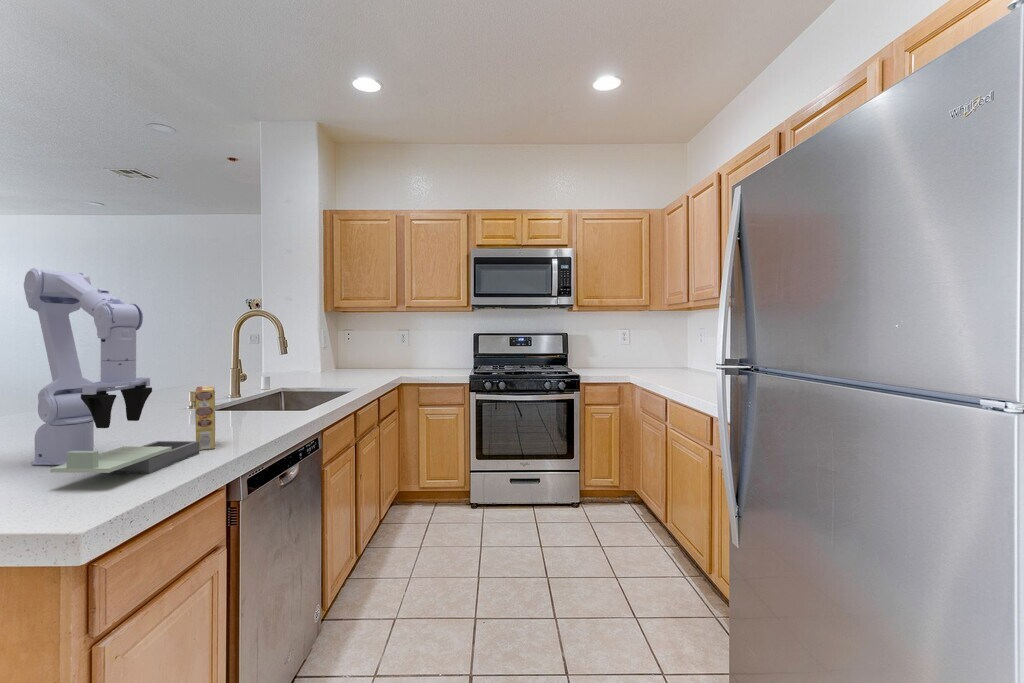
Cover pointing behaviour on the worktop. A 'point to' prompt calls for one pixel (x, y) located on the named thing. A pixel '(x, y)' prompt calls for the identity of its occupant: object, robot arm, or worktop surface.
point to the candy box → (205, 417)
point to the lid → (107, 459)
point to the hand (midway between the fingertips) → (118, 424)
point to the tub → (163, 457)
